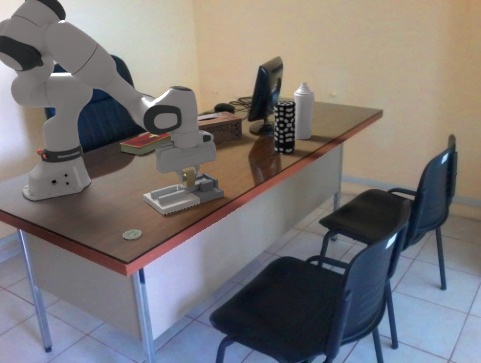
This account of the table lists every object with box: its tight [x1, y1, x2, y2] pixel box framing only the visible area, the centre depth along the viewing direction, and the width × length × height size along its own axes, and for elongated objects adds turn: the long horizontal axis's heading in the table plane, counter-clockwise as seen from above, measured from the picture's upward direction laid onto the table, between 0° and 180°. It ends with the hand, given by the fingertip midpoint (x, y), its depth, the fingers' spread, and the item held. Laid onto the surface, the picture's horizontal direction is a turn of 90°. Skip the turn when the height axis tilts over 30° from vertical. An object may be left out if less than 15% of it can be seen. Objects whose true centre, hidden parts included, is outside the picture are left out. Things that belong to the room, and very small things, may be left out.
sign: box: [102, 223, 143, 240], centre depth 132 cm, size 5×1×15 cm
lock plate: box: [142, 172, 225, 216], centre depth 151 cm, size 22×14×5 cm, turn 126°
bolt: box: [177, 167, 208, 193], centre depth 152 cm, size 10×4×7 cm, turn 125°
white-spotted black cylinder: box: [274, 100, 296, 156], centre depth 187 cm, size 8×8×20 cm
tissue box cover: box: [197, 111, 243, 146], centre depth 206 cm, size 26×14×10 cm, turn 119°
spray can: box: [293, 81, 316, 140], centre depth 203 cm, size 12×11×25 cm
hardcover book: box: [119, 132, 171, 156], centre depth 202 cm, size 12×21×4 cm, turn 146°
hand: (188, 179), depth 150 cm, fingers closed on bolt, 3 cm apart
